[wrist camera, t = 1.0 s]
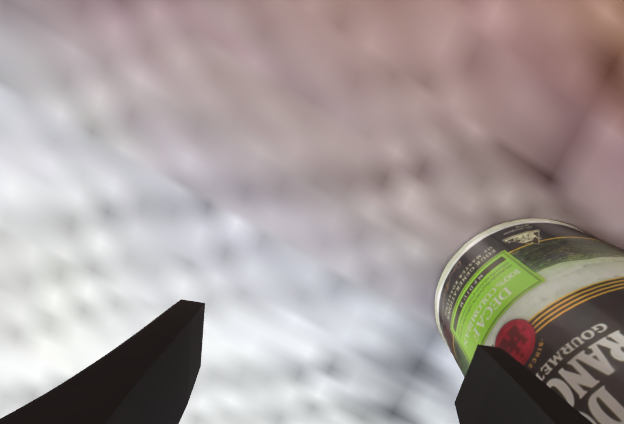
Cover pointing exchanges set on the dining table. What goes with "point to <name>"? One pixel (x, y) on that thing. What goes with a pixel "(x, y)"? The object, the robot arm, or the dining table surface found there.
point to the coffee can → (542, 309)
